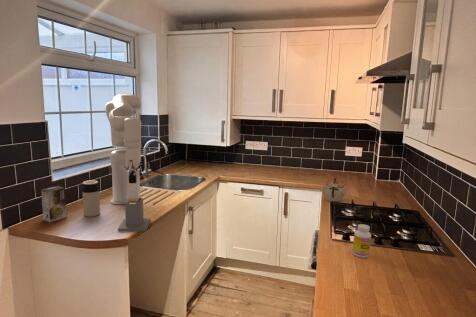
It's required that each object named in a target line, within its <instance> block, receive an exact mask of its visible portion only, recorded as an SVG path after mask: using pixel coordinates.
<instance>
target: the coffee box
mask: <svg viewBox="0 0 476 317" xmlns="http://www.w3.org/2000/svg"><path fill="white" fill-rule="evenodd" d="M40 193H41V205H42V207H41V208H42V218H43V221H46V222H48V223H53V222H55V221H56V222H57V221H59V220H62V219H65V218H68V209H67V208H68V207H67V199H66V188H65V187H63V186H60V185H56V186H50V187H47V188H41V189H40Z"/></svg>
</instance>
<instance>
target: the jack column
mask: <svg viewBox="0 0 476 317" xmlns="http://www.w3.org/2000/svg"><path fill="white" fill-rule="evenodd" d="M127 171H128V202H139V201H140V198H141V182H140V171H141V170H140V168H138V169H135V175H136V183H129V169H127ZM133 171H134V170H133Z"/></svg>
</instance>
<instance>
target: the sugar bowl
mask: <svg viewBox="0 0 476 317" xmlns="http://www.w3.org/2000/svg"><path fill="white" fill-rule="evenodd" d="M322 193H323V196H324V197H325V199H326V200H327V199H328V200H331V201H339V202H340V201H341V200H343V198H344V197H345V196H346V194H347V190H346V188H345V187H344V185H342V184H340V183H339V182H337V178H336V177H335V178H333V182H329V183H326V184H325V185H324V186H322ZM328 200H327V201H328ZM331 201H330V202H331Z"/></svg>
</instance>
